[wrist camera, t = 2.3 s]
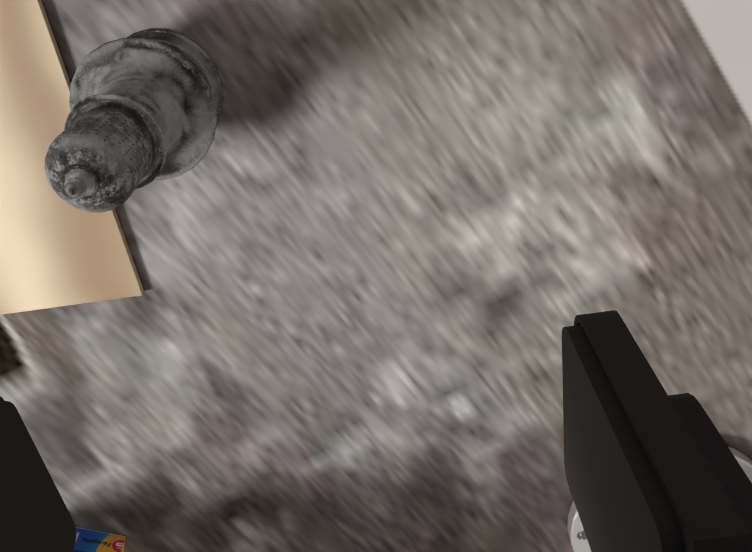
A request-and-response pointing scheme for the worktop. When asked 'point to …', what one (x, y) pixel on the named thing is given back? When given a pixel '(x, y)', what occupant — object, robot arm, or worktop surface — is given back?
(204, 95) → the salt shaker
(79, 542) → the beverage box
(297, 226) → the worktop surface
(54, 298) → the cork mat
